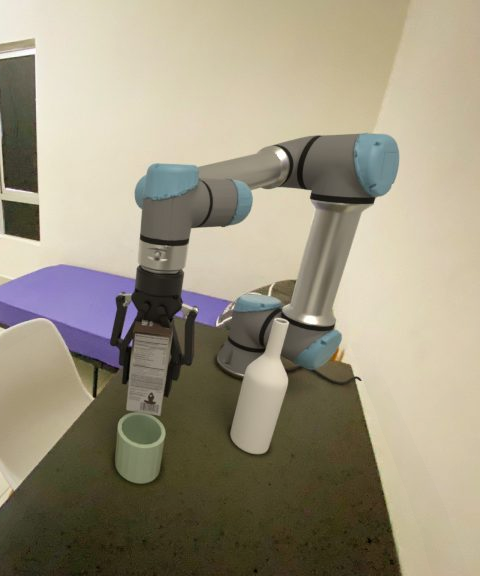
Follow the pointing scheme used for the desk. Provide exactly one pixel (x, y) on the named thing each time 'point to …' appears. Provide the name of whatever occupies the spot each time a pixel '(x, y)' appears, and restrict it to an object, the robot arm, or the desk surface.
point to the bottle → (261, 395)
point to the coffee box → (148, 367)
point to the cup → (139, 447)
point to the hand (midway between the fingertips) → (146, 386)
